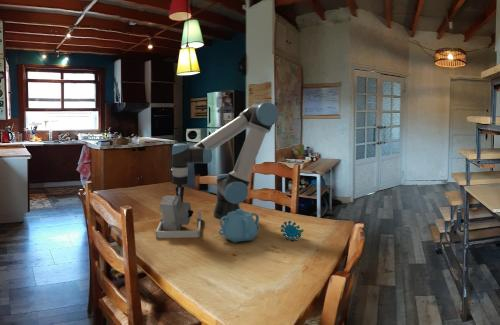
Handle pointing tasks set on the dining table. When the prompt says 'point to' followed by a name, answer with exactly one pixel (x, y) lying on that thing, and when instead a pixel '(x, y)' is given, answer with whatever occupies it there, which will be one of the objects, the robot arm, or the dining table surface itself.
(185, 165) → the robot arm
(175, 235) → the parts bay
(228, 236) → the decorative pot
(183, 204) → the circuit breaker
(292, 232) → the teal spiky ornament
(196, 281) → the dining table surface
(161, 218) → the dark gray open bay
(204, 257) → the dining table surface
